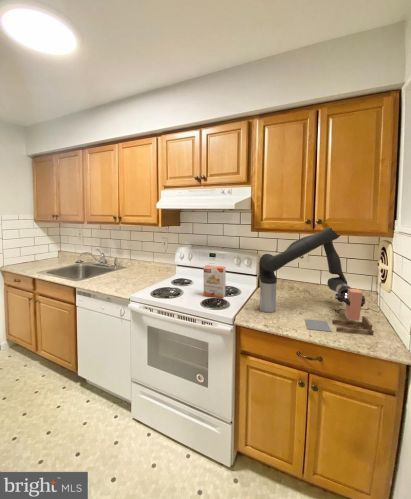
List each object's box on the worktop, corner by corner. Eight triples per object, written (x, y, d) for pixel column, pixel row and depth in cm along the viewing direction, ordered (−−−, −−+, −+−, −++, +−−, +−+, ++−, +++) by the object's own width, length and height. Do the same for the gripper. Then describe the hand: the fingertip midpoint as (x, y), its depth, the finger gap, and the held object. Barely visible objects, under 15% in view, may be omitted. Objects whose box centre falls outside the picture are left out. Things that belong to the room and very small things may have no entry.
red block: (348, 319, 125) (351, 292, 123) (344, 314, 130) (348, 288, 127) (359, 320, 124) (362, 293, 122) (355, 315, 129) (359, 289, 126)
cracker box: (203, 296, 174) (203, 266, 170) (206, 293, 179) (206, 264, 175) (223, 299, 169) (223, 268, 165) (225, 295, 174) (225, 266, 170)
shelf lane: (336, 331, 126) (337, 322, 125) (331, 322, 135) (332, 313, 134) (373, 335, 122) (374, 325, 121) (365, 325, 131) (366, 316, 130)
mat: (307, 329, 128) (307, 328, 128) (304, 319, 138) (304, 319, 138) (331, 331, 125) (331, 331, 125) (326, 321, 136) (326, 320, 136)
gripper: (331, 284, 140) (340, 295, 124) (360, 286, 137) (373, 298, 121) (330, 297, 142) (338, 310, 125) (358, 300, 138) (371, 313, 122)
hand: (355, 304), depth 123 cm, fingers closed on red block, 5 cm apart
